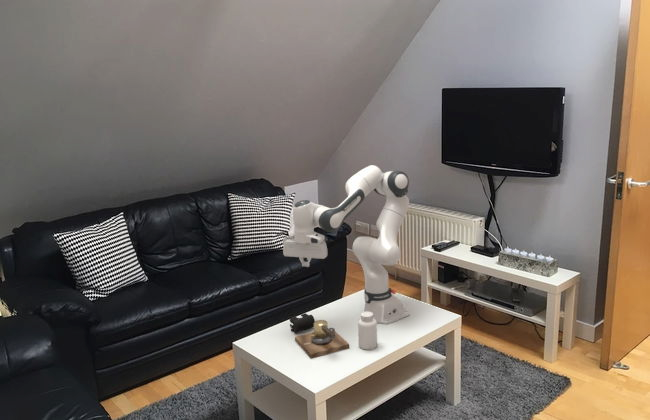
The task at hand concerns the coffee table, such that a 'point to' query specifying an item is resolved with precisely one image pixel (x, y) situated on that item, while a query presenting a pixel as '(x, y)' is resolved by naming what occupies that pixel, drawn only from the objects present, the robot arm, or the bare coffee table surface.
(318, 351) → the base plate
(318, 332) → the crank handle
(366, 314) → the pill bottle
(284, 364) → the coffee table surface
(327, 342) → the post collar
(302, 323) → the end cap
